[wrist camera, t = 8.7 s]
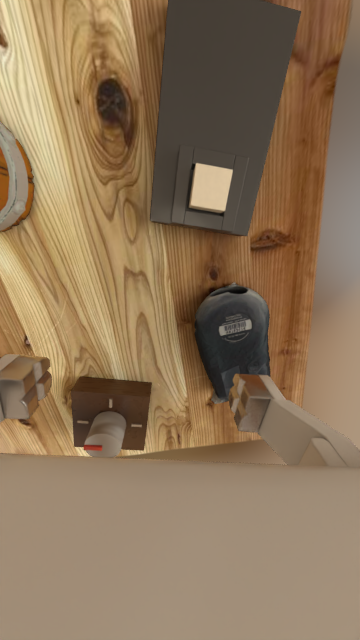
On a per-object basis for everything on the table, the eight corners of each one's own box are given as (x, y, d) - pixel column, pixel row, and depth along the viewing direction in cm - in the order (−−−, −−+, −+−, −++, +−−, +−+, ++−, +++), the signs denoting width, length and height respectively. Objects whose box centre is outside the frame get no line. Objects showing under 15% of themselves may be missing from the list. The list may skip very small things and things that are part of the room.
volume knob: (127, 412, 29) (121, 437, 25) (125, 435, 30) (120, 462, 27) (93, 410, 28) (82, 435, 25) (93, 434, 30) (83, 460, 26)
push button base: (240, 236, 24) (253, 236, 20) (151, 222, 23) (148, 219, 19) (286, 36, 18) (316, -16, 14) (170, 6, 17) (170, -58, 13)
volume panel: (145, 433, 34) (143, 451, 31) (81, 429, 33) (73, 447, 30) (151, 382, 31) (149, 398, 28) (80, 376, 30) (70, 391, 27)
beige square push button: (220, 213, 20) (225, 211, 18) (188, 207, 19) (190, 205, 18) (227, 175, 19) (233, 169, 17) (193, 169, 18) (196, 162, 17)
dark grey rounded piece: (269, 367, 32) (263, 275, 25) (282, 397, 28) (279, 295, 20) (208, 376, 34) (185, 292, 26) (211, 406, 29) (184, 314, 22)
